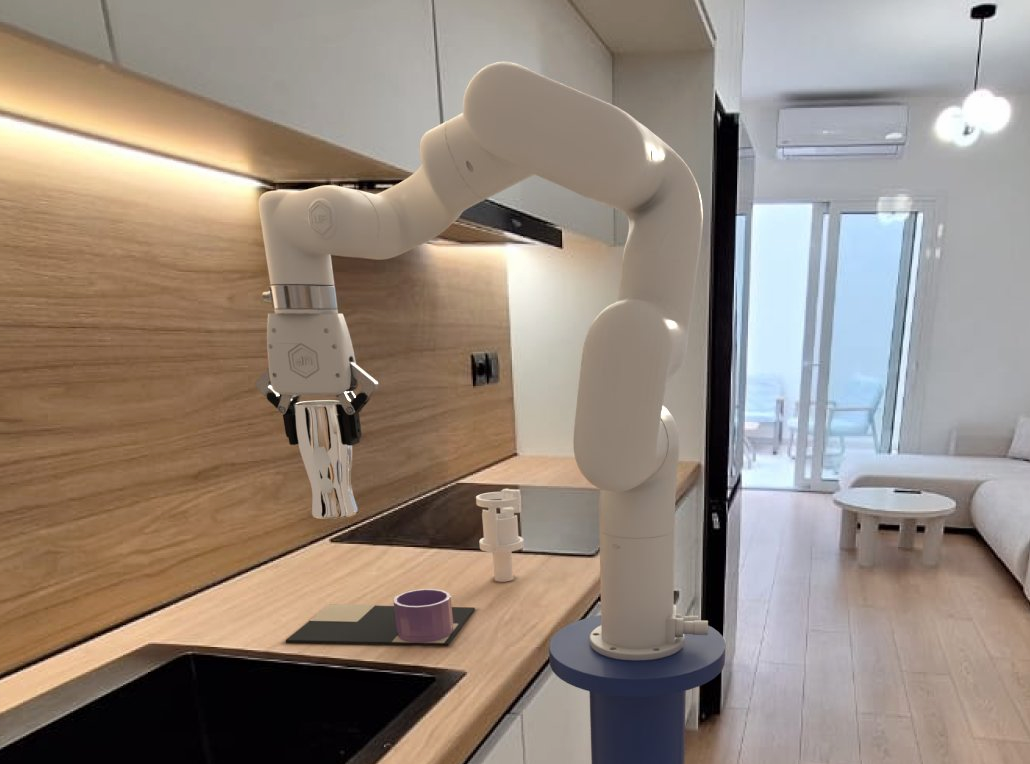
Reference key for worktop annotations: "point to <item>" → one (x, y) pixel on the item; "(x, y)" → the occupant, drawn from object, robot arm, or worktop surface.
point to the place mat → (365, 626)
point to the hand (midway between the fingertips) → (325, 442)
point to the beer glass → (325, 457)
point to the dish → (423, 615)
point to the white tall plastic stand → (501, 529)
